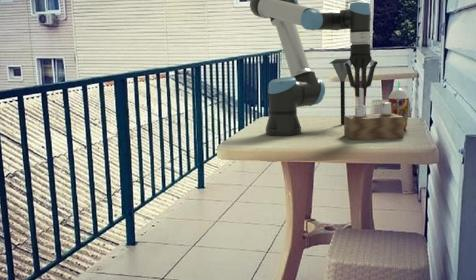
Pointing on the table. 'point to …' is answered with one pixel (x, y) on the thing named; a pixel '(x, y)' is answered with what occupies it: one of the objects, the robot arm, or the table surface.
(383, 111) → the peg
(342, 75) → the solar garden light
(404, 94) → the smoothie
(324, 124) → the table surface
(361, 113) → the peg
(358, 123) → the block
